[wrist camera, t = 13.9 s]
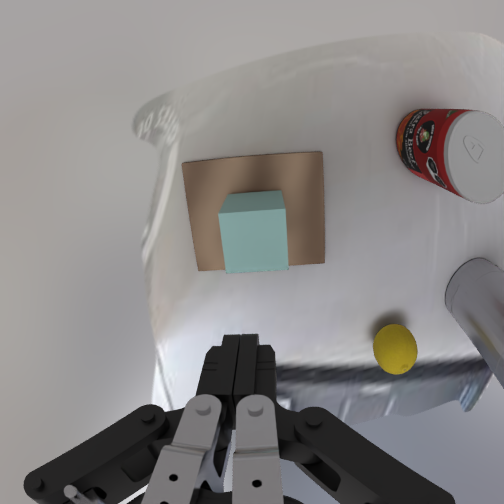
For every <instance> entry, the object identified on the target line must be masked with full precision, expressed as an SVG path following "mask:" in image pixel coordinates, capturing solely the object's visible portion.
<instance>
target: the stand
mask: <svg viewBox="0 0 504 504" xmlns="http://www.w3.org/2000/svg"><path fill="white" fill-rule="evenodd" d="M182 170H183V177H184V185H185V192H186V198H187V205H188V212H189V218H190V224H191V231H192V237H193V243H194V249H195V254H196V260H197V266H198V271H209V270H226V269H225V261H224V254H223V247H222V239H221V232H220V224H219V216H218V213H219V211H220V209H221V207H222V205H223V203H224V201H225V199H226V197H227V195H228V194H237V193H249V192H262V191H277V190H281V191H282V196H283V200H284V204H285V209H286V227H287V246H288V266H290V265H305V264H320V263H325V217H324V177H323V154H322V152H298V153H280V154H265V155H252V156H241V157H230V158H220V159H211V160H202V161H194V162H186V163H182Z"/></svg>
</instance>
